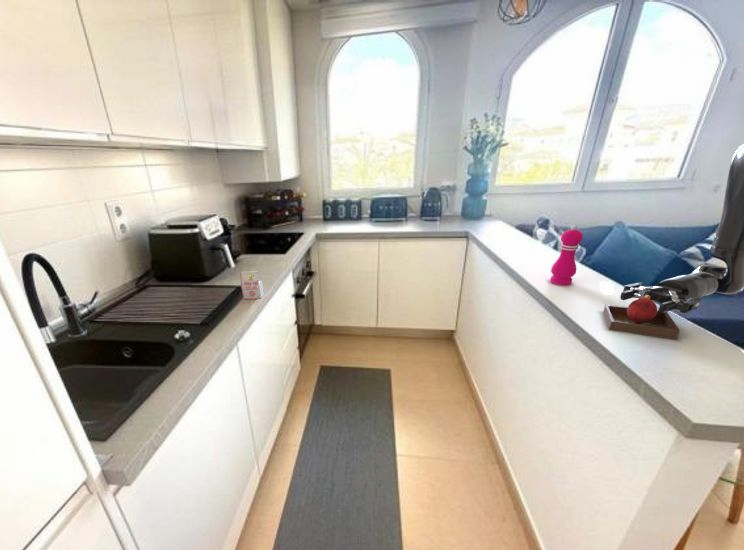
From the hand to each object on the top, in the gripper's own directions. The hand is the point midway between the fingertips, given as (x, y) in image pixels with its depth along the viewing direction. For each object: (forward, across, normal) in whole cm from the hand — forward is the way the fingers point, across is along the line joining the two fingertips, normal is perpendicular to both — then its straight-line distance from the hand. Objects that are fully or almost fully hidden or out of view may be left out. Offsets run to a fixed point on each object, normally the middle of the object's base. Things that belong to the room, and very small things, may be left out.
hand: (641, 302), depth 88 cm
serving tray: (-2, 0, +7) cm, 7 cm away
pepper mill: (-13, -30, +7) cm, 34 cm away
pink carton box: (+88, -73, +7) cm, 115 cm away
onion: (-2, 0, +7) cm, 7 cm away
